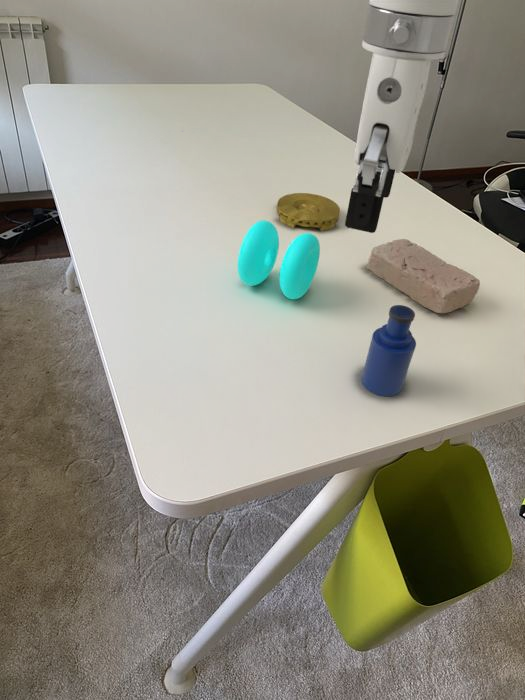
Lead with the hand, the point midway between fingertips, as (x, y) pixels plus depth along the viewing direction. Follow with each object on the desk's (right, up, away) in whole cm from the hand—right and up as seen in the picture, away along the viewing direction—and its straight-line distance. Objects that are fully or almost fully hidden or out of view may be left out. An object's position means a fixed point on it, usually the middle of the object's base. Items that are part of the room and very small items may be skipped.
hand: (368, 210), depth 60 cm
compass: (-3, +10, +46) cm, 48 cm away
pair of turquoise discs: (-9, -6, +25) cm, 28 cm away
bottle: (+4, -19, +10) cm, 22 cm away
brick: (+14, -5, +29) cm, 33 cm away
